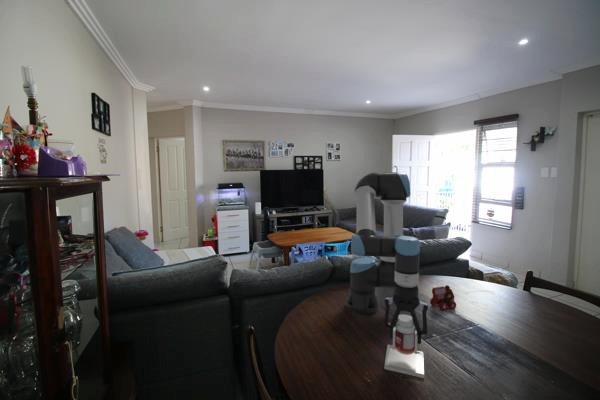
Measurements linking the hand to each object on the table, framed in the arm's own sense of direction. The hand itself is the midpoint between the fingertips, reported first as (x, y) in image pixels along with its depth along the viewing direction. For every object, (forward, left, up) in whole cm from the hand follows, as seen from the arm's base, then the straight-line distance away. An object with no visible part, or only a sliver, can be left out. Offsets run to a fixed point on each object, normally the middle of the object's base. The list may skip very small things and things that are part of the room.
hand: (404, 349), depth 95 cm
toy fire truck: (+16, +48, -5) cm, 51 cm away
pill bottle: (0, 0, 0) cm, 0 cm away
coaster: (0, 0, -5) cm, 5 cm away
